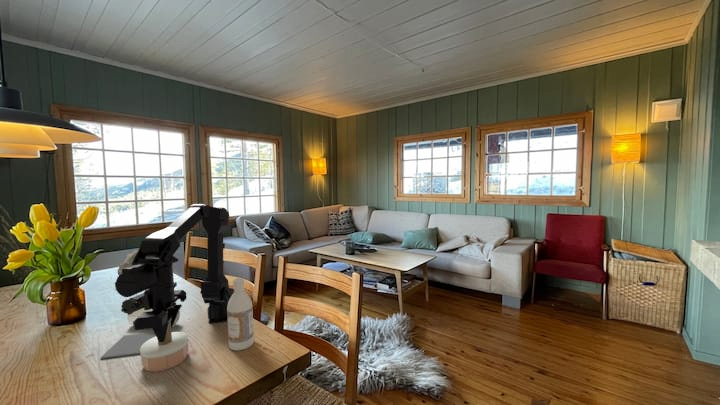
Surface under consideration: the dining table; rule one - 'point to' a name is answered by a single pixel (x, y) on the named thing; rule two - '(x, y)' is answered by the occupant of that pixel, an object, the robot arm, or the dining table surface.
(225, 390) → the dining table surface
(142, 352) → the lid
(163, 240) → the robot arm
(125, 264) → the rock
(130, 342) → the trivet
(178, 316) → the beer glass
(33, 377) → the dining table surface
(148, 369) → the bowl
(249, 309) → the bath foam
